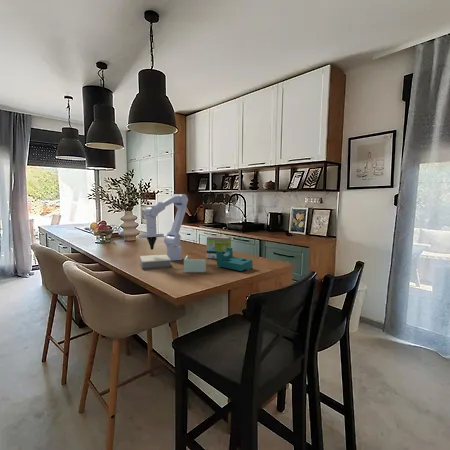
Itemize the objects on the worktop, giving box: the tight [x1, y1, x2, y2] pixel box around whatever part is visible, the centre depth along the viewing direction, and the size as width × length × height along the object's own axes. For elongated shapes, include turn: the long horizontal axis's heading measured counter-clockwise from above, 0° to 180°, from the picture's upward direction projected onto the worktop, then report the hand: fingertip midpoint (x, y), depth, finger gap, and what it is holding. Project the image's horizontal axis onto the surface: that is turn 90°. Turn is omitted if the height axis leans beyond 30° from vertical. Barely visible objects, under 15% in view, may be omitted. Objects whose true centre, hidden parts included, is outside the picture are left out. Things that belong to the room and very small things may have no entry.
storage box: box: [139, 257, 171, 270], centre depth 170 cm, size 16×14×4 cm
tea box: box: [206, 235, 232, 260], centre depth 193 cm, size 15×10×15 cm
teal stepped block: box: [216, 247, 254, 272], centre depth 165 cm, size 18×11×10 cm, turn 50°
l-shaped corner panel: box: [183, 255, 207, 273], centre depth 162 cm, size 12×12×8 cm
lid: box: [139, 253, 170, 262], centre depth 170 cm, size 16×14×1 cm
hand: (151, 249), depth 173 cm, fingers closed
